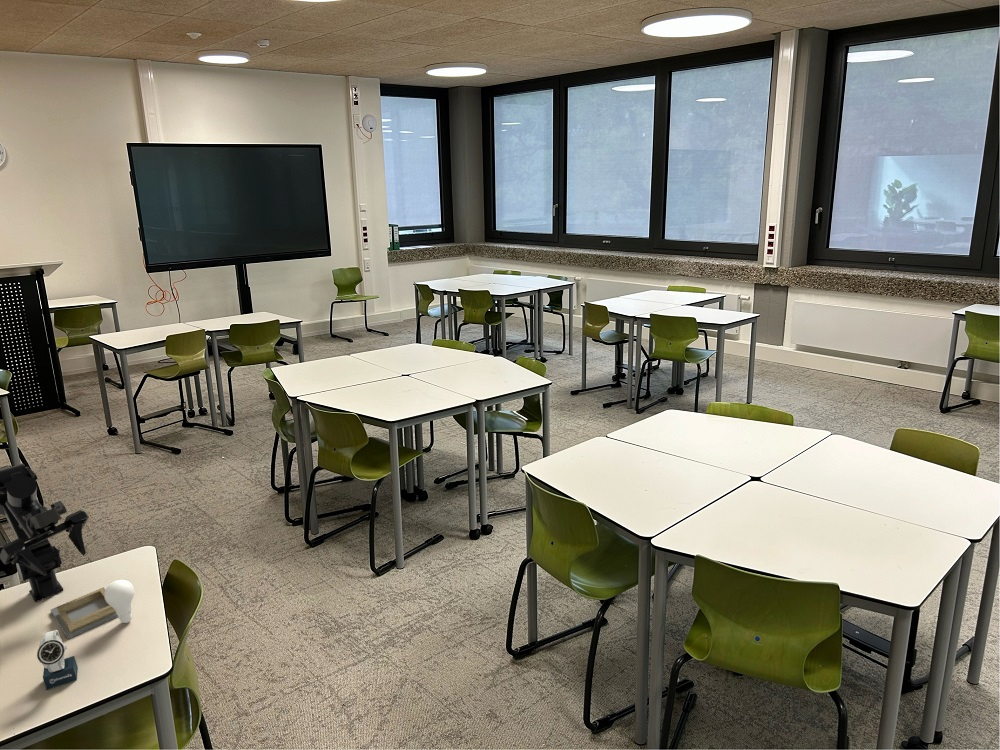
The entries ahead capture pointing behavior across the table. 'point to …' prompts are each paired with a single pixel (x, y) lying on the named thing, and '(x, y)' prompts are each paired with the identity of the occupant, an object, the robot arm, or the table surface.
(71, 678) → the watch
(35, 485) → the robot arm
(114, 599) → the lightbulb
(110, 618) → the socket plate
